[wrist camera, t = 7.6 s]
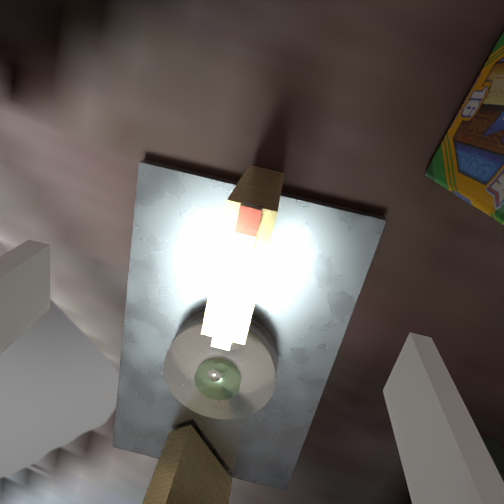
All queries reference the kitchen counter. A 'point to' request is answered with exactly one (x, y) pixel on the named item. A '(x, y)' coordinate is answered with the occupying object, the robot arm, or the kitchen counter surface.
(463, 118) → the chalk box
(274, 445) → the base plate
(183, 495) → the yellow white layered bar
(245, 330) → the tan striped slab
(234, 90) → the kitchen counter surface
